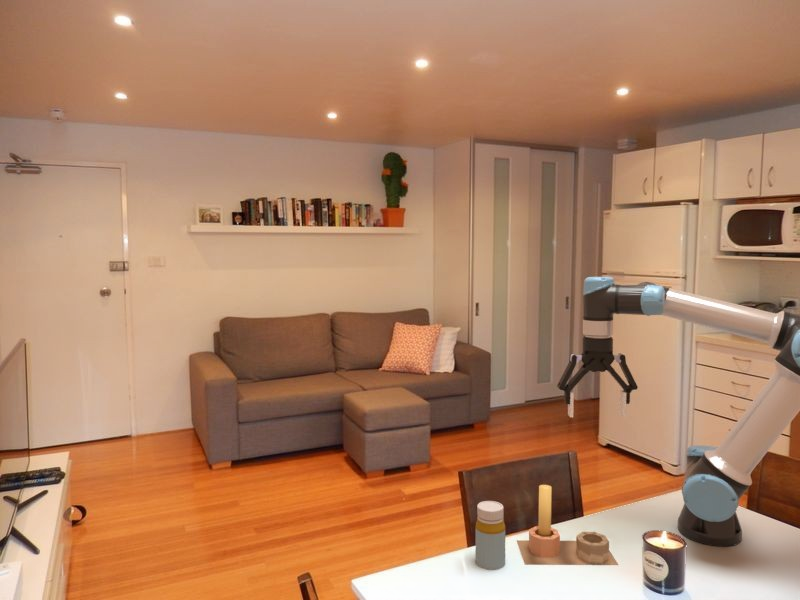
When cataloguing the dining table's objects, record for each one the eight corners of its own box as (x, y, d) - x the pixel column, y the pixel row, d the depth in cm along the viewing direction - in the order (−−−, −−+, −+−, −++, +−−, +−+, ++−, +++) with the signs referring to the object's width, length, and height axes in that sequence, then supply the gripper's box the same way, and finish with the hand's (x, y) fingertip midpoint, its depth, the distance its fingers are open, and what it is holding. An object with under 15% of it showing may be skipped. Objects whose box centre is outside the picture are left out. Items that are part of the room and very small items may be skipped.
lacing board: (603, 545, 153) (603, 540, 153) (618, 569, 142) (618, 564, 141) (516, 544, 154) (516, 540, 154) (524, 569, 142) (524, 564, 142)
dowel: (549, 547, 150) (550, 484, 149) (551, 552, 147) (552, 489, 146) (536, 546, 150) (537, 484, 149) (539, 552, 148) (540, 489, 146)
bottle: (507, 562, 146) (507, 502, 145) (502, 576, 139) (502, 514, 138) (478, 557, 148) (478, 498, 147) (472, 571, 141) (472, 510, 140)
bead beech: (602, 549, 149) (602, 531, 149) (611, 563, 142) (611, 545, 142) (574, 549, 149) (574, 531, 149) (581, 563, 142) (581, 545, 142)
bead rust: (555, 543, 152) (555, 526, 152) (561, 557, 145) (561, 539, 145) (527, 543, 153) (527, 526, 152) (532, 557, 146) (532, 539, 145)
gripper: (640, 333, 160) (639, 412, 161) (546, 334, 161) (545, 412, 162) (651, 337, 152) (650, 419, 154) (552, 338, 153) (552, 420, 155)
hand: (596, 416), depth 158 cm, fingers open, 13 cm apart
